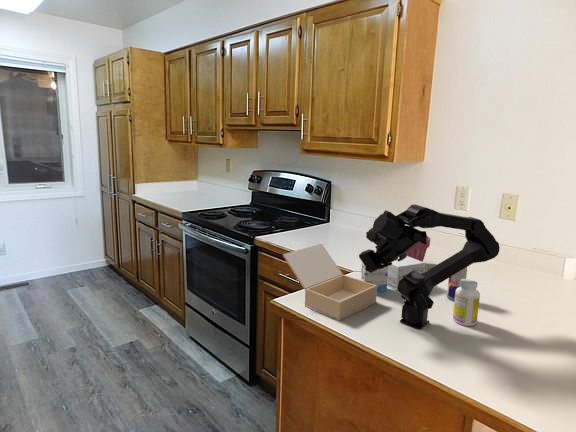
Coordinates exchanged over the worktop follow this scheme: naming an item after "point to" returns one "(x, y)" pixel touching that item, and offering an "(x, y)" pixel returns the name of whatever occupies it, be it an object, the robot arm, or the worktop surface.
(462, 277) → the energy drink
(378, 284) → the ink box
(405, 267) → the supplement box
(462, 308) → the supplement bottle
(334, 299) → the mailer box
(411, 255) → the plant pot
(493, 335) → the worktop surface
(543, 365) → the worktop surface
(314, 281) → the mailer lid
